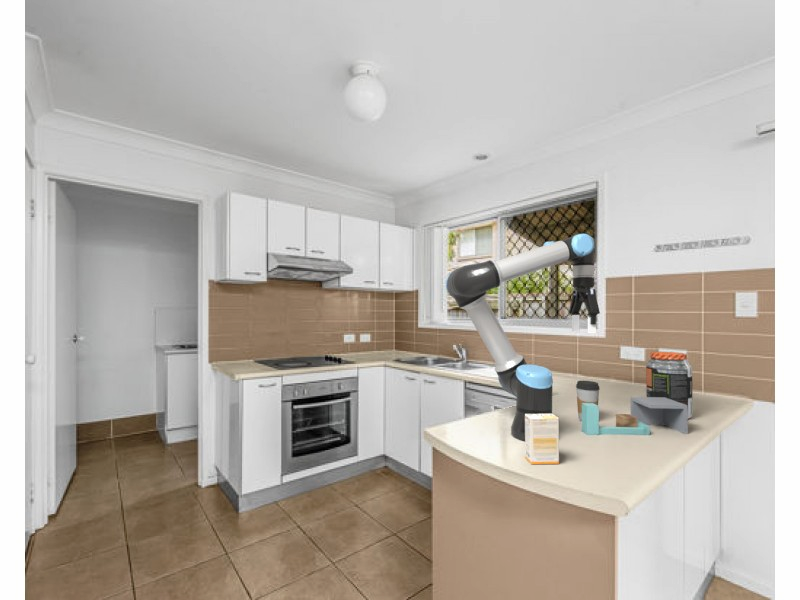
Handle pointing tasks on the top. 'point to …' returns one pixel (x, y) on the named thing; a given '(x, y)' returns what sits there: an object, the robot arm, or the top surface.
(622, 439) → the top surface
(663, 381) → the supplement tub
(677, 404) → the block
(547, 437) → the supplement box
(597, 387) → the coffee cup
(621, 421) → the block
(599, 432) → the teal cube-topped l-bracket
